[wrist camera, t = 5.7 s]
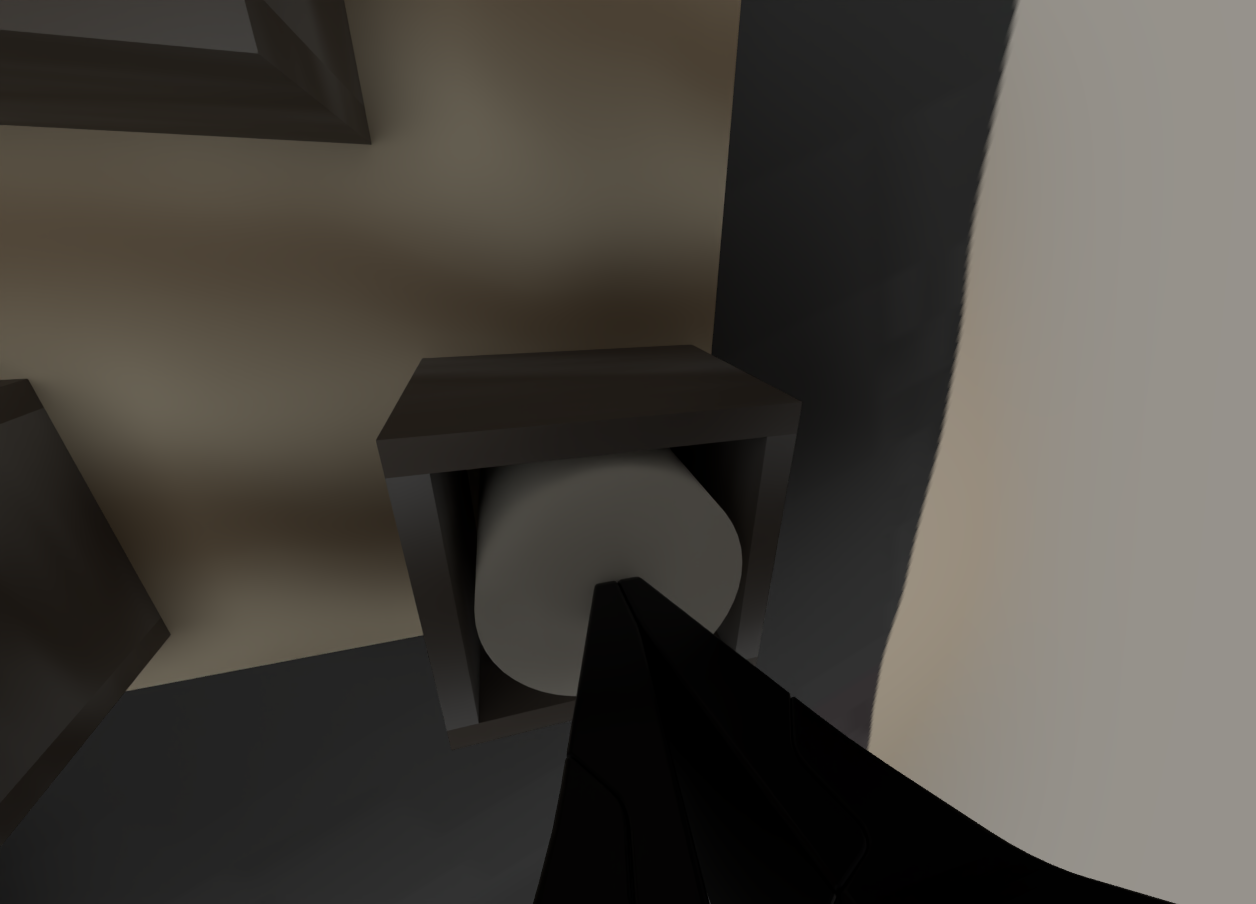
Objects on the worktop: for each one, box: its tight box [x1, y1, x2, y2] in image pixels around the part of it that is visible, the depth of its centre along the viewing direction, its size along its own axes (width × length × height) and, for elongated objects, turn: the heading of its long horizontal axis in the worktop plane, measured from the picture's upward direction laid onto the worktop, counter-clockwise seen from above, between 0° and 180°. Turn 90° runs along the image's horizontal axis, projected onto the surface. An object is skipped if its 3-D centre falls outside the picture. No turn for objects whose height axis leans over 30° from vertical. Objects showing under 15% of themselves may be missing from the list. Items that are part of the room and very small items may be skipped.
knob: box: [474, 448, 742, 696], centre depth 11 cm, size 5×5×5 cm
